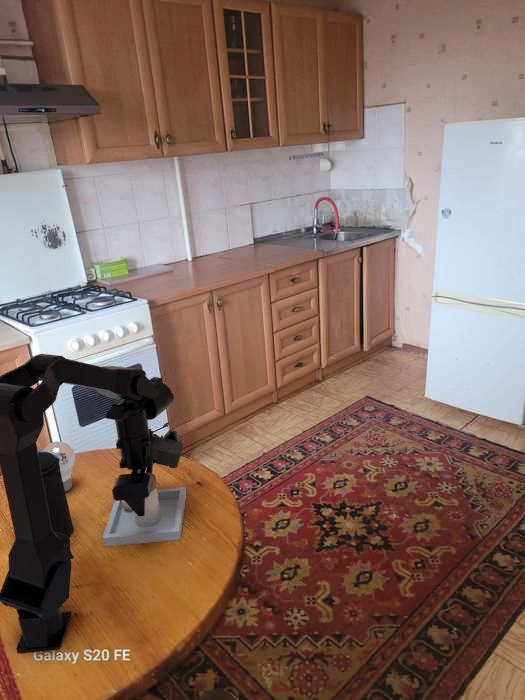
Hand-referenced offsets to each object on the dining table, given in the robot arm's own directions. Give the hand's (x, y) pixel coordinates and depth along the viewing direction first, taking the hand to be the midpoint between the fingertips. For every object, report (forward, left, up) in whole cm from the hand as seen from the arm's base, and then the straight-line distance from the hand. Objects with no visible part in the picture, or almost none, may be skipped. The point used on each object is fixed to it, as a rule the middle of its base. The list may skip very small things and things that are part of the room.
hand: (145, 502), depth 104 cm
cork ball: (+4, +4, -4) cm, 7 cm away
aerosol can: (-2, +18, -5) cm, 19 cm away
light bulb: (+13, +20, -5) cm, 24 cm away
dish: (0, 0, -4) cm, 4 cm away
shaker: (0, 0, -4) cm, 4 cm away
